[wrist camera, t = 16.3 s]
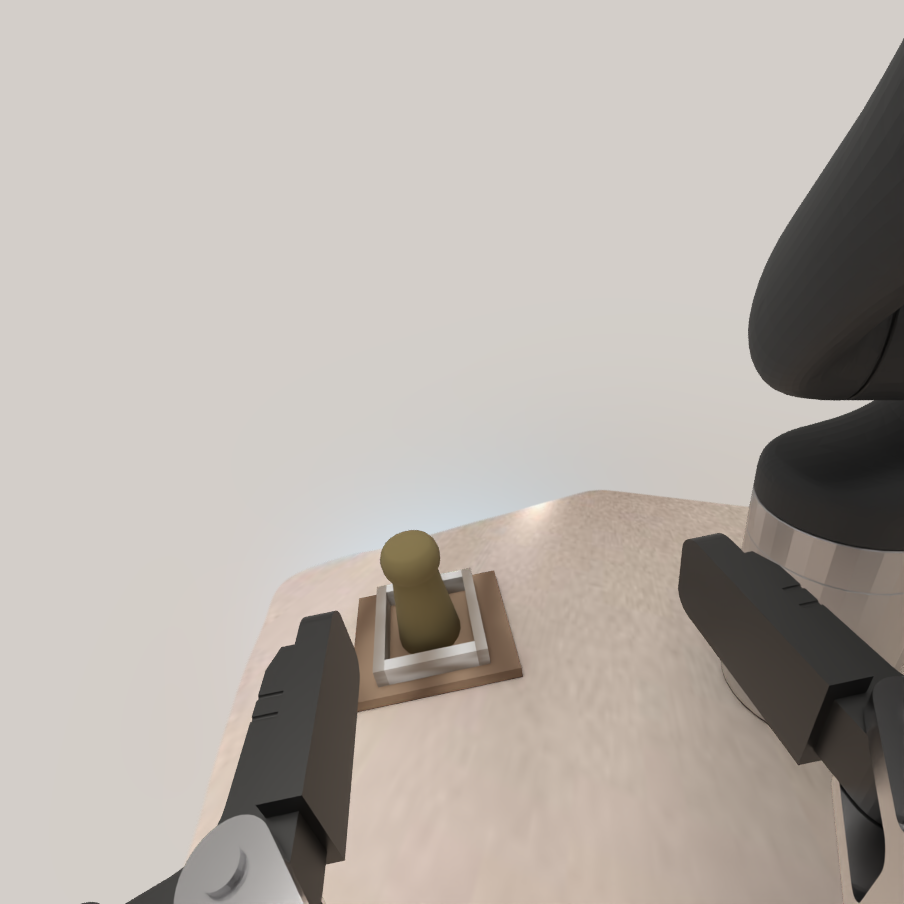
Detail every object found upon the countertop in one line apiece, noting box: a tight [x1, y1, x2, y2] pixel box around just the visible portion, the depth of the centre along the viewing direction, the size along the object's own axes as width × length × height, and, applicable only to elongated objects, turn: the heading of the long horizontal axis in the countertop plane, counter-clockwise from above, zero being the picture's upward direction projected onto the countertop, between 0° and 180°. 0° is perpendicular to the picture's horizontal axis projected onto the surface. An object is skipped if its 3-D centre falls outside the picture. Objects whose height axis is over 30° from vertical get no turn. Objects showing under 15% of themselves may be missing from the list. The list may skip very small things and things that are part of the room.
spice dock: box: [354, 568, 523, 712], centre depth 43 cm, size 15×12×3 cm
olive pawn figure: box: [380, 530, 461, 654], centre depth 40 cm, size 6×6×11 cm
